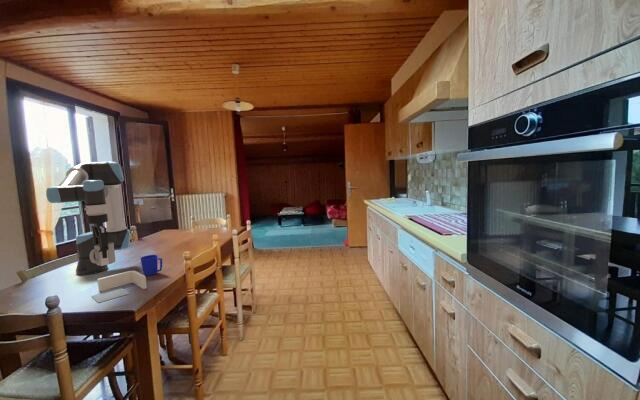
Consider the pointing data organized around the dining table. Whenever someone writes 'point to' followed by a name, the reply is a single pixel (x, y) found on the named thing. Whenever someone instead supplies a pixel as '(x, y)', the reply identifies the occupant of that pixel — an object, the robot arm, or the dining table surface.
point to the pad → (109, 295)
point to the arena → (122, 280)
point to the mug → (150, 264)
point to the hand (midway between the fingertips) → (102, 263)
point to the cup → (97, 254)
